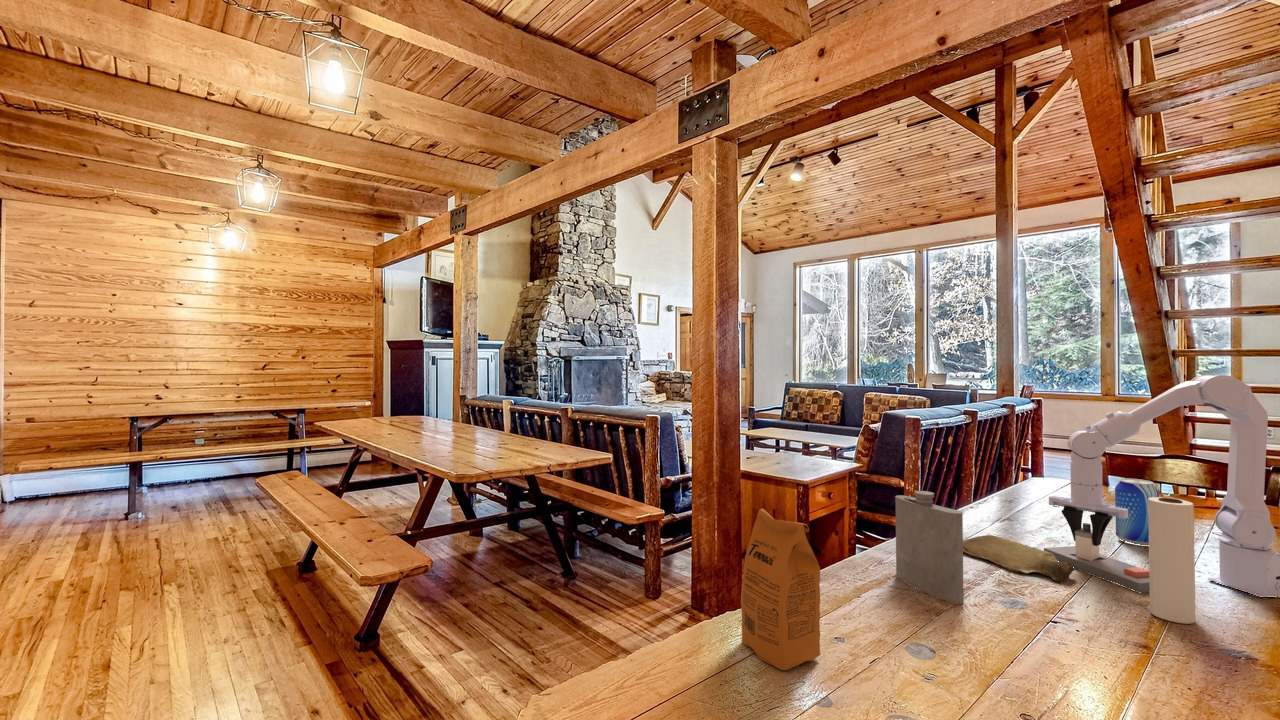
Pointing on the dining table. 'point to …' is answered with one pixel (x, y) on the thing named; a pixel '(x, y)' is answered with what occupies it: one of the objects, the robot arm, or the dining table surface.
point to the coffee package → (781, 594)
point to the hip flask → (930, 546)
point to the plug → (1085, 543)
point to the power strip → (1105, 568)
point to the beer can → (1134, 509)
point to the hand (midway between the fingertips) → (1087, 542)
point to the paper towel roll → (1172, 559)
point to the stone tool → (1017, 556)
